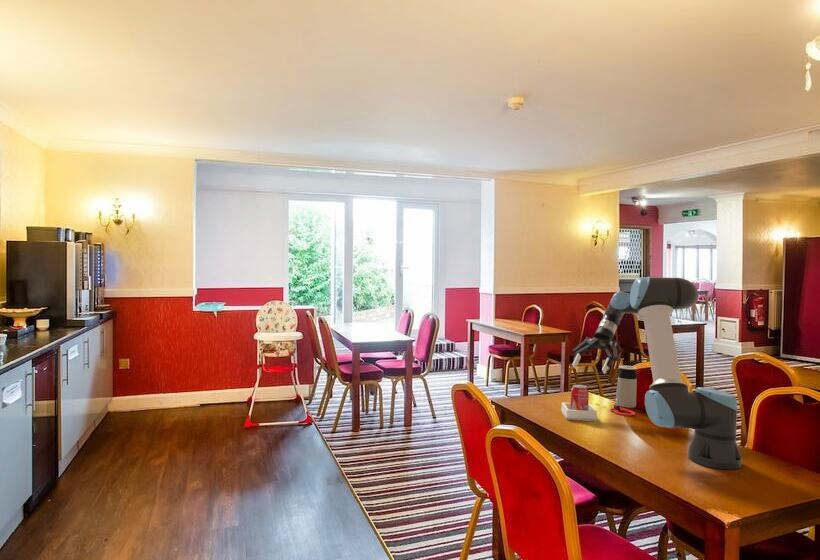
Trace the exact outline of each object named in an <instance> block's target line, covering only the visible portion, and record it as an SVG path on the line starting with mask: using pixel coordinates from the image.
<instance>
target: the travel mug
mask: <svg viewBox="0 0 820 560" xmlns="http://www.w3.org/2000/svg"><path fill="white" fill-rule="evenodd" d="M618 368H619V371H618V373H617V383H618V382H619V387H620V389H619V406H620V407H622V408H625V407H626V408H625V409H633V408H636V407H637V388H638V387H637V385H638V384H637V383H638V382H637V380H638V374H637V372H636V371H637V369H638V368H637V367H636V366H633V365H618Z"/></svg>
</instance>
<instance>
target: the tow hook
mask: <svg viewBox="0 0 820 560" xmlns="http://www.w3.org/2000/svg"><path fill="white" fill-rule="evenodd" d="M619 389H620V387H619V382H618V381H617V383H616V390H615V391H616V394H615V400H614V404H613V407H612V408H610V410H609V411H610V412H611V413H613V412H614V413H615V414H616V415H618V414H619V416H622V415H624V416H623V417H633V416H632V415H635V416H636V412H635V411H633V410H631V409H629V408H624V407H621V406H619ZM624 412H625V413H624ZM629 412H630V413H629Z"/></svg>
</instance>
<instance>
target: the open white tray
mask: <svg viewBox="0 0 820 560" xmlns="http://www.w3.org/2000/svg"><path fill="white" fill-rule="evenodd" d="M561 414H562V416H564V418H565V419H566V420H567V421H581V420H582V421H583V422H585V421H586V422H598V421H597V419H598V411H597V409H595V408H594V407H593V405H592V404H591V403H588V411H585V410H571V402H561Z"/></svg>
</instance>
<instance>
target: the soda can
mask: <svg viewBox="0 0 820 560" xmlns="http://www.w3.org/2000/svg"><path fill="white" fill-rule="evenodd" d="M570 391H571V392H570V403H571V410H585V411H588V404H589V396H590V395H589V389H588V385H585V384H581V383H580V384H578V383H577V384H573V385H572V388H571V389H570Z"/></svg>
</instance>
